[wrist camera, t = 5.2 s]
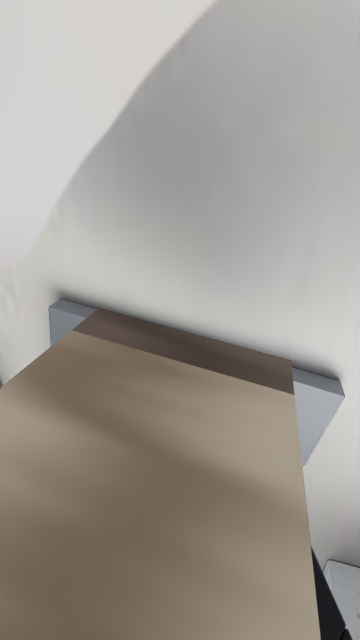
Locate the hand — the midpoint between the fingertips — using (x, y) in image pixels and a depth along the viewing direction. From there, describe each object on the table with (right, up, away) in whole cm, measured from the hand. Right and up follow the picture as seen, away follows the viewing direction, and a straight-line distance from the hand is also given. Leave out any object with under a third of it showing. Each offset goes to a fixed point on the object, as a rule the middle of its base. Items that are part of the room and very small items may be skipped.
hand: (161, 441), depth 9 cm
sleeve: (0, +1, +1) cm, 2 cm away
